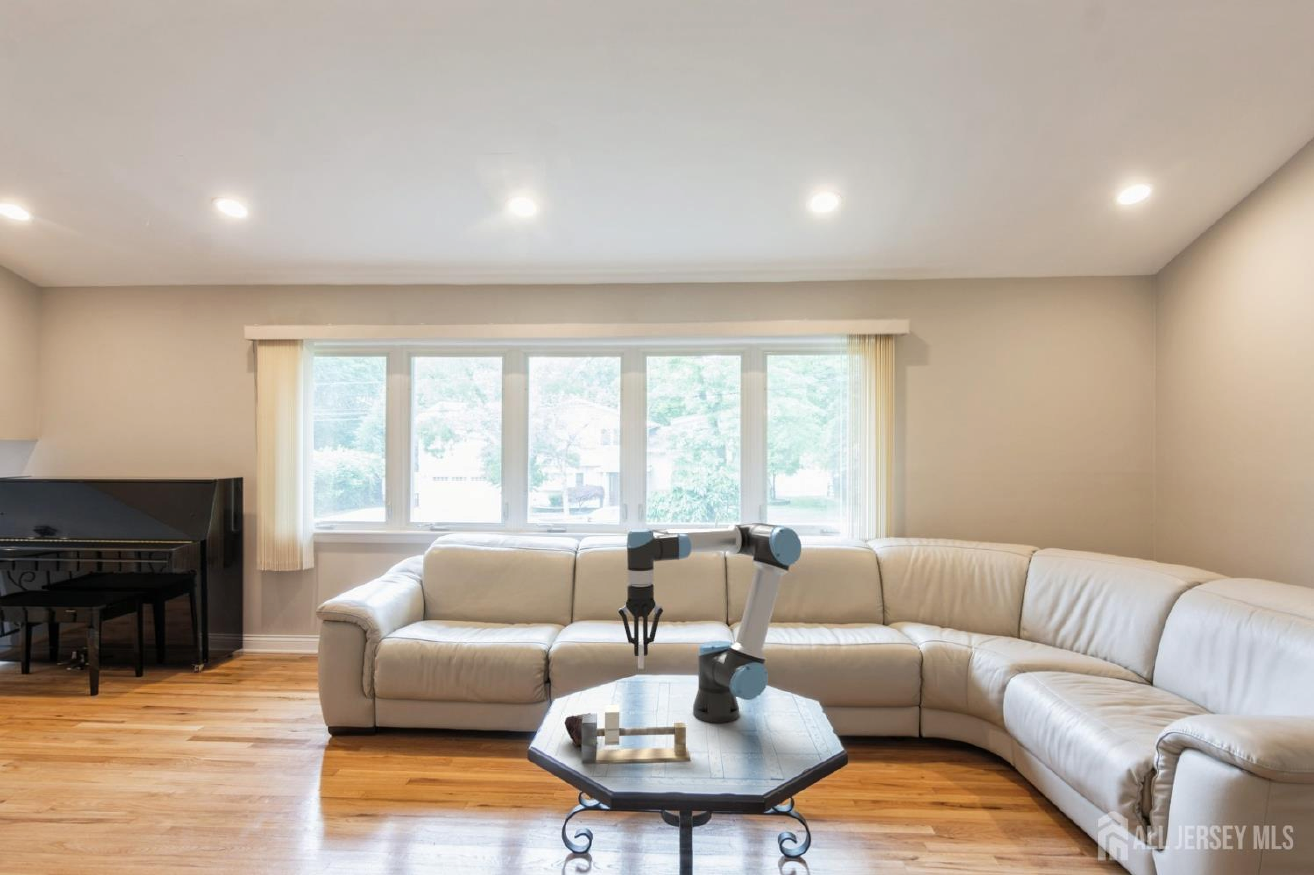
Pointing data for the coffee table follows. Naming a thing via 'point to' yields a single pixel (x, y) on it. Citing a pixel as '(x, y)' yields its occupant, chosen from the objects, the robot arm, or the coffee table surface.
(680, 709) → the coffee table surface
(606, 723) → the sleeve
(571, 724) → the rock
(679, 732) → the rail
